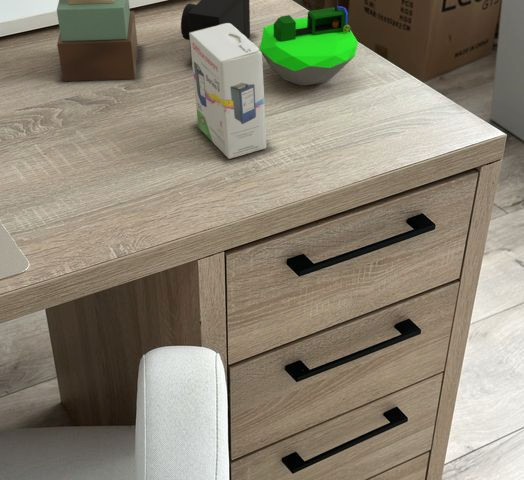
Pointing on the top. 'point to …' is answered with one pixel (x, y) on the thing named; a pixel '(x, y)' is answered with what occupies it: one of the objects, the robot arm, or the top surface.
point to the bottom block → (100, 57)
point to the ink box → (229, 89)
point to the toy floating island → (309, 45)
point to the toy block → (89, 1)
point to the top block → (93, 21)
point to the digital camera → (215, 16)
